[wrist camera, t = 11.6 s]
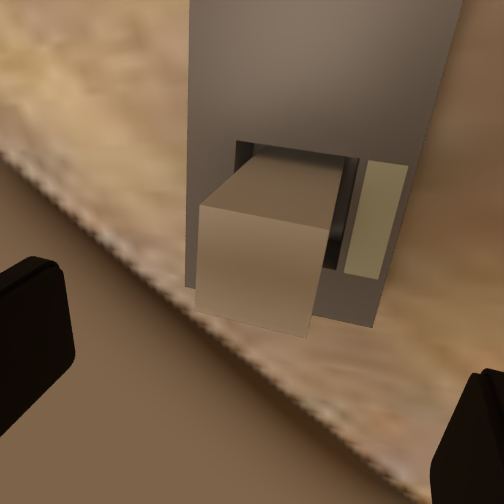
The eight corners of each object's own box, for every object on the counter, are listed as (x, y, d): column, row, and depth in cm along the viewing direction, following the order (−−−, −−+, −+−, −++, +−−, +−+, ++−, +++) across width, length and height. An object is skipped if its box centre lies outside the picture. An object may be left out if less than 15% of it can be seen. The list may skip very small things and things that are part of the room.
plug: (346, 155, 21) (329, 230, 12) (328, 237, 23) (303, 352, 14) (268, 142, 21) (199, 204, 13) (258, 223, 23) (193, 324, 15)
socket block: (540, -354, 13) (605, -509, 9) (371, 287, 24) (372, 329, 20) (237, -332, 15) (195, -455, 11) (209, 255, 26) (184, 287, 22)
